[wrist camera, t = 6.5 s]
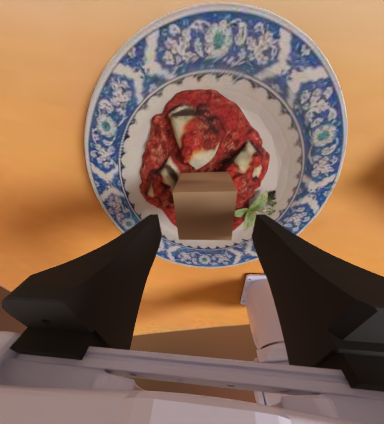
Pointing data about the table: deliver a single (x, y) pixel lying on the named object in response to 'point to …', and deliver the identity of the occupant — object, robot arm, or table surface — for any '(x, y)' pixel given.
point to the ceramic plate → (216, 124)
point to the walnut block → (205, 206)
